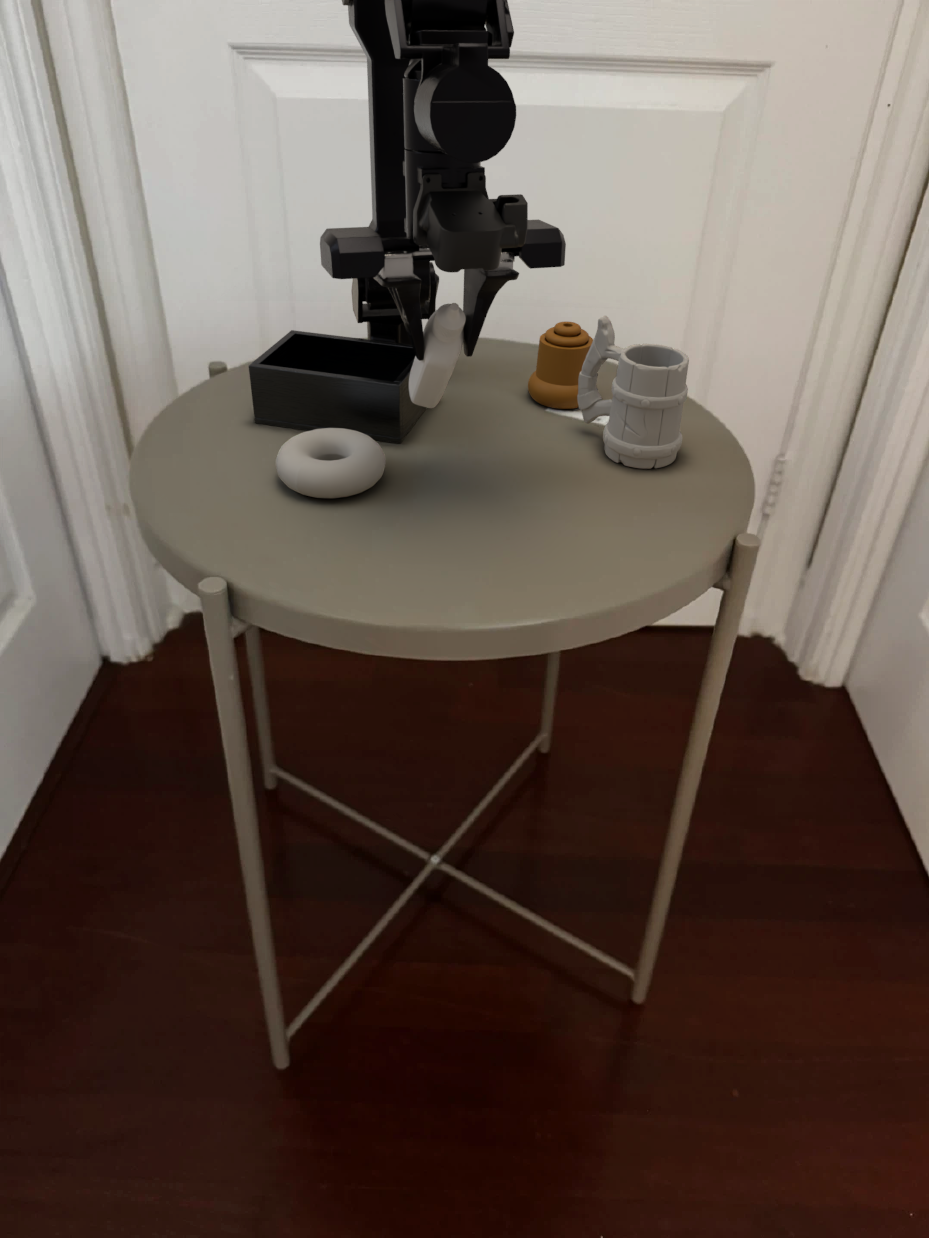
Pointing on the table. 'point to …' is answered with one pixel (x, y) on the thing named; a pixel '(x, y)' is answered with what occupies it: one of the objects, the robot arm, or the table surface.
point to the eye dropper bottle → (437, 355)
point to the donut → (330, 462)
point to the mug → (636, 399)
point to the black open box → (335, 385)
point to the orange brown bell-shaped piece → (559, 366)
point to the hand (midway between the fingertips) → (443, 357)
